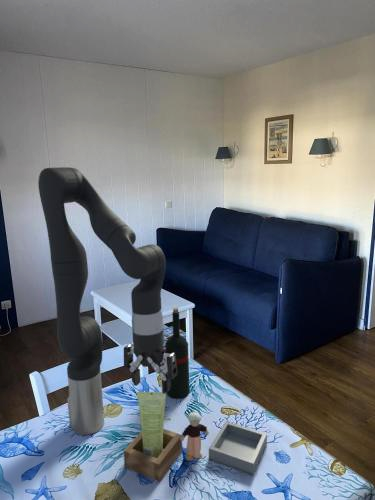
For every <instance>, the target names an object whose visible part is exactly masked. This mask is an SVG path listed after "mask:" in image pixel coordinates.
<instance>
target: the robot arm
mask: <svg viewBox="0 0 375 500" xmlns="http://www.w3.org/2000/svg"><path fill="white" fill-rule="evenodd" d="M37 181H38V182H37V184H38V193H39V198H40V202H41V207H42V211H43V216H44V220H45V225H46V230H47V238H48V244H49V253H50V254H49V255H50V262H51V263H50V264H51V271H52V276H53V277H52V278H53V284H54V292H55V293H54V294H55V303H56V306H55V307H56V334H57V343H58V347H59V348H60V350H61V353H62V354H63V355H64V356H65V357H67V358H69V359H70V361H69V362H68V364H67V368H66V373H67V375H66V376H67V382H68V393H69V394H68V397H67V399H66V400H67V410H68V420H69V427H71V428H72V431H73V432H74V433H75V434H77V435H80V436H88V435H92V434H95V433H97V432H98V431H100V430H101V429H102V428H103V426H104V425H105V415H104V402H103V401H104V400H103V399H104V398H103V387H102V385H103V384H102V376H101V375H102V374H101V366H102V365H101V364H102V362H103V335H102V334H103V333H102V330H101V327H100V326H101V325H100V324H99V323H98V322H97V320H96V319H94V318H93V317H92V316H89V315H88V316H87V315H86V316H81V306H82V305H81V303H82V300H83V296H84V293H85V290H86V286H87V283H88V279H89V267H88V266H89V265H88V258H87V252H86V249H85V247H84V244H83V243H82V242H81V240H80V239H79V238H78V236H77V235H76V233H75V232H74V231H73V229H72V228H71V226H70V224H69V222H68V218H67V214H66V210H65V204H70V203H76V204H78V205H79V206H81V207H82V208H84V210H85V211H86V212H87V214H88V217H89V222H90V227H91V228H92V230H93V232H94V235H96V237H97V238H98V239H99V240H100V241H101V242H102V243H103V244H104V245H105V246H106V247H107V248H108V249H109V250H110V251H111V252H112V254H113V256H114V258H115V260H116V261H117V263H118V265H119V266H120V269H121V270H122V272H123V273H124V274H125V275H127V277H129V278H132V279H133V280H140V281H139V282H138V283H137V284H136V285H135V286H134V287H133V288H132V290H131V293H130V295H131V297H130V299H131V312H132V313H131V328H132V329H131V330H132V331H131V333H132V342H130V343H128V344H127V345H125V346H124V347H123V368H124V369H128V370H129V371H130V372H131V373H130V374H131V382H132V383H133V386H135V387H138V385H140V383H141V369H140V367H141V365H142V367H144V368H146V367H148V368H149V369H153V370H154V371H155V373H156V374H158V375H159V376H160V378H161V392H162V393H164V394H166V395H167V392H168V391H169V390H170V388H171V382H170V380H172V379H173V378H174V377H175V376H176V375H177V374H178V373H177V362H176V354H175V353H174V352H172V353H171V354H168V353H165V352H164V349H165V348H164V346H165V337H164V336H165V335H164V334H165V333H164V315H163V311H162V297H161V295H162V293H161V292H162V288H163V283H164V278H165V274H166V268H167V267H166V266H167V264H166V263H167V262H166V256H165V254H164V252H163V250H162V248H161V247H160V246H159V245H157V244H147V245H143V246H139V247H136V246H135V242H136V239H137V236H136V233H135V232H134V230H133V229H132V228H131V227H130V226H129V225H127V223H126V222H124V220H123V219H121V218H120V217H119V216H118V215H117V214H116V213H115V212H114V211H113V210H112V209H111V208H110V207H109V205H107V203H106V202H105V201H104V199H103V198H102V197H101V196H100V194H99V193H98V191H97V190H96V189H95V188H94V186H93V185H92V183H91V182H90V181H89V179H88V178H87V177H86V176H85V175H84V174H83V172H82V171H81V170H79V169H78V168H76V167H70V166H69V167H65V166H64V167H61V166H60V167H46V168H43V169H42V170H41V171H40V173H39V176H38V180H37ZM134 355H135V357H136V359H135V360H134ZM164 359H165V361H164ZM166 363H167V364H166ZM159 365H160V366H159Z"/></svg>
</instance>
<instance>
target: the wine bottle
mask: <svg viewBox="0 0 375 500" xmlns="http://www.w3.org/2000/svg"><path fill="white" fill-rule="evenodd" d="M172 311H173V312H172V335H170V336H169V337H168V338H167V340H166V341H165V342H164V346H165V347H164V348H163V349H164V352H165V353H168V354H171V353H172V352H174V353H175V354H176V362H177V373H178V374H177V375H176V376H175V377H174V378H173V379H172V380H170V382H171V388H170V390H169V391H168V392H167V393H166V397H168V398H170V399H175V400H181V399H184V398H186V397H188V396H189V395H190V391H191V390H190V367H189V365H190V362H189V360H190V359H189V343H188V340H187V339H186V337H184V336H183V335H181V333H180V312H179V308H178V307H174V308H172ZM164 361H165V362H166V360H165V359H164ZM166 364H167V363H166ZM159 380H162V378H161V377H160V378H159Z"/></svg>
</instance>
